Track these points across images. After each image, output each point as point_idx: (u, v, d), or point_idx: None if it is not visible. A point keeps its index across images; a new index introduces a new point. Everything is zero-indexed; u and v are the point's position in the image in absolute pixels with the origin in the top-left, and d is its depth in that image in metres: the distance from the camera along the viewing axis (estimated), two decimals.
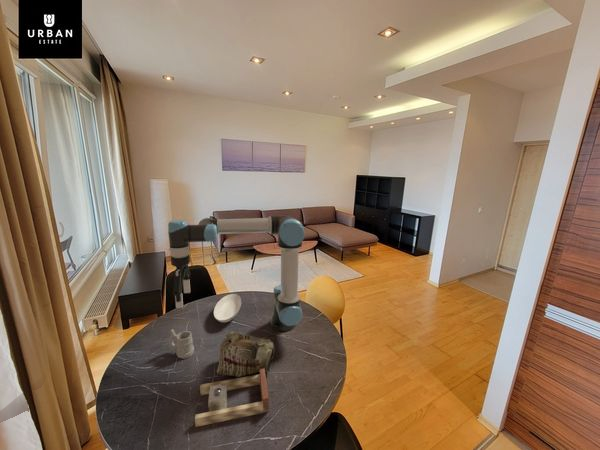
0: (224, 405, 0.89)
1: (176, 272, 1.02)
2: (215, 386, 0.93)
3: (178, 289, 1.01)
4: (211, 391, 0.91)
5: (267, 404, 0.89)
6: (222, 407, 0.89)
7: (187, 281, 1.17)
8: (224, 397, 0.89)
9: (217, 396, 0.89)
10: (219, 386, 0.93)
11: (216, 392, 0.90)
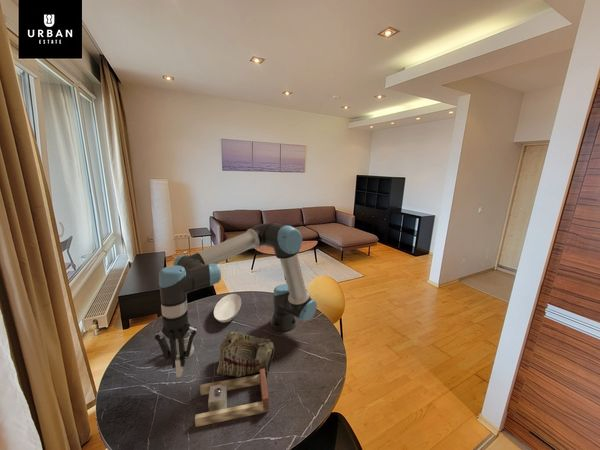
0: (224, 405, 0.89)
1: None
2: (215, 386, 0.93)
3: None
4: (211, 390, 0.91)
5: (267, 404, 0.89)
6: (222, 407, 0.89)
7: None
8: (224, 397, 0.89)
9: (217, 396, 0.89)
10: (219, 386, 0.93)
11: (216, 392, 0.90)
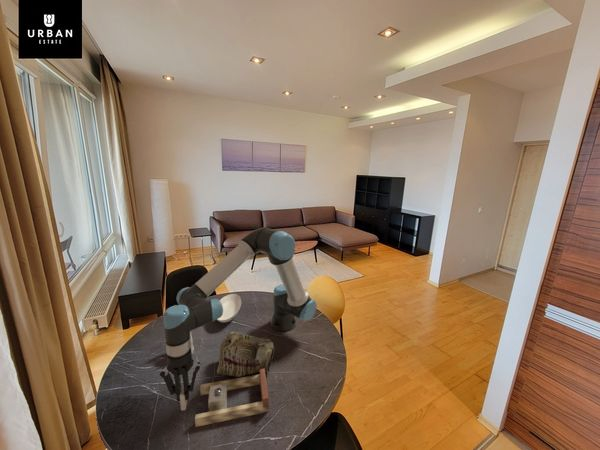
0: (224, 405, 0.89)
1: None
2: (215, 386, 0.93)
3: None
4: (211, 390, 0.91)
5: (267, 404, 0.89)
6: (222, 407, 0.89)
7: None
8: (224, 397, 0.89)
9: (217, 396, 0.89)
10: (219, 386, 0.93)
11: (216, 392, 0.90)
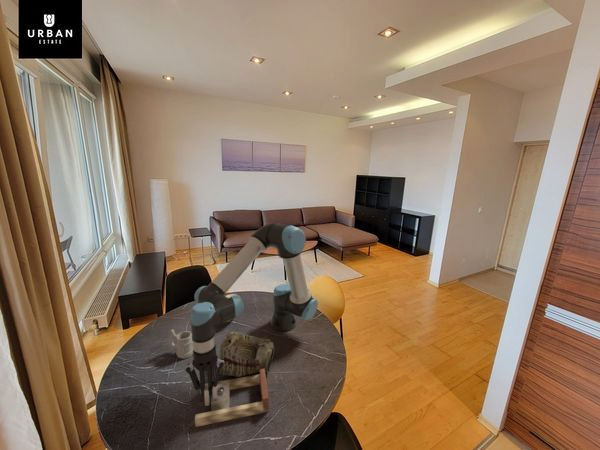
0: (227, 404, 0.89)
1: None
2: (218, 385, 0.94)
3: None
4: (214, 390, 0.92)
5: (267, 404, 0.89)
6: (225, 406, 0.89)
7: None
8: (227, 396, 0.89)
9: (220, 395, 0.89)
10: (222, 385, 0.94)
11: (219, 391, 0.90)
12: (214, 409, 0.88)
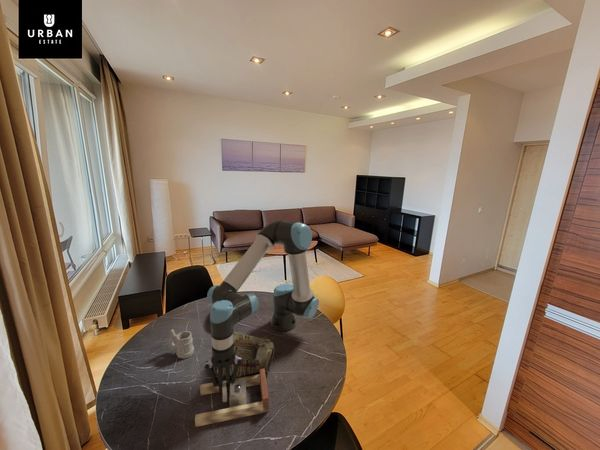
0: (244, 401, 0.90)
1: None
2: (235, 382, 0.95)
3: None
4: (231, 387, 0.93)
5: (267, 404, 0.89)
6: (242, 403, 0.90)
7: None
8: (244, 393, 0.90)
9: (238, 392, 0.91)
10: (239, 382, 0.95)
11: (236, 388, 0.92)
12: (232, 406, 0.89)
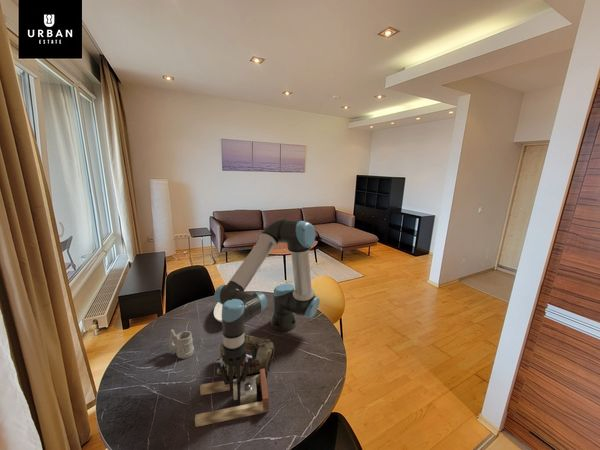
0: (255, 399, 0.91)
1: None
2: (245, 381, 0.96)
3: None
4: (241, 385, 0.94)
5: (267, 404, 0.89)
6: (253, 401, 0.91)
7: None
8: (255, 391, 0.91)
9: (248, 391, 0.92)
10: (249, 381, 0.96)
11: (247, 386, 0.92)
12: (243, 404, 0.90)
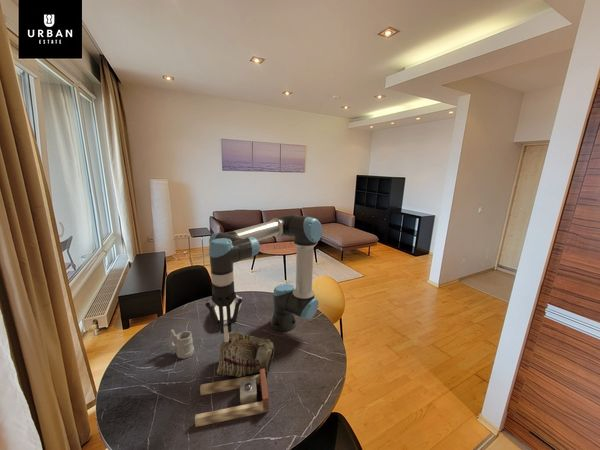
0: (255, 399, 0.91)
1: None
2: (245, 381, 0.96)
3: None
4: (241, 385, 0.94)
5: (267, 404, 0.89)
6: (253, 401, 0.91)
7: None
8: (255, 392, 0.91)
9: (248, 391, 0.92)
10: (249, 381, 0.96)
11: (247, 387, 0.92)
12: (243, 404, 0.90)
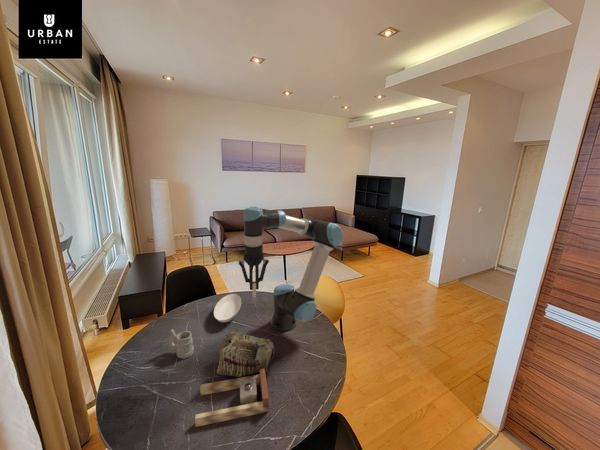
0: (255, 400, 0.91)
1: None
2: (245, 381, 0.96)
3: (244, 277, 1.04)
4: (241, 385, 0.94)
5: (267, 404, 0.89)
6: (253, 401, 0.91)
7: None
8: (255, 392, 0.91)
9: (248, 391, 0.92)
10: (249, 381, 0.96)
11: (247, 387, 0.92)
12: (243, 404, 0.90)
